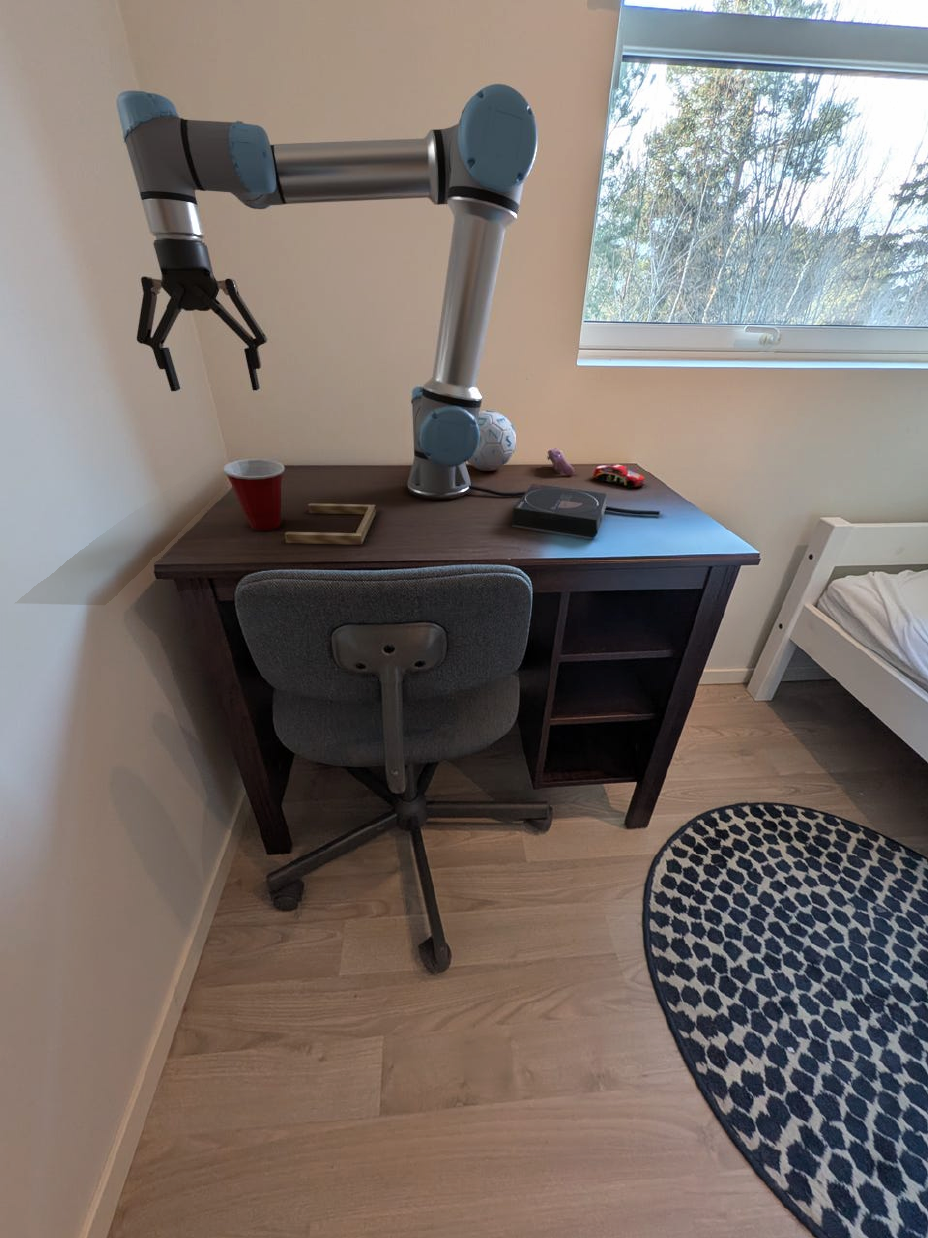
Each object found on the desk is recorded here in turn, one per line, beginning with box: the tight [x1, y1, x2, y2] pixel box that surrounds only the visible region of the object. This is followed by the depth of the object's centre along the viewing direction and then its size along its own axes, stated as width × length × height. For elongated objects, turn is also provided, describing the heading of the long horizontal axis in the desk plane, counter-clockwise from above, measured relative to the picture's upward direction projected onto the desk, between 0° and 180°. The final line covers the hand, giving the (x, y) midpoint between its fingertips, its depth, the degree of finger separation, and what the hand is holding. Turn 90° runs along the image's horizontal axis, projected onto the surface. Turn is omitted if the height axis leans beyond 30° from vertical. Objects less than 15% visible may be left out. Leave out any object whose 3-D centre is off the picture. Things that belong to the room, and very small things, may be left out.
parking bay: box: [284, 502, 377, 546], centre depth 96 cm, size 14×16×2 cm
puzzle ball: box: [466, 409, 517, 472], centre depth 127 cm, size 15×15×15 cm
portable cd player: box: [511, 483, 608, 540], centre depth 101 cm, size 16×17×4 cm
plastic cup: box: [222, 458, 286, 532], centre depth 93 cm, size 11×11×12 cm
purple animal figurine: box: [546, 447, 575, 476], centre depth 130 cm, size 10×5×7 cm, turn 5°
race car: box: [593, 463, 646, 489], centre depth 122 cm, size 13×5×4 cm, turn 50°
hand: (216, 389), depth 86 cm, fingers open, 13 cm apart
